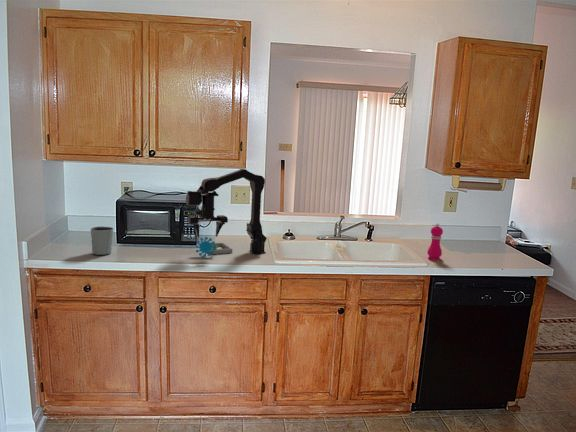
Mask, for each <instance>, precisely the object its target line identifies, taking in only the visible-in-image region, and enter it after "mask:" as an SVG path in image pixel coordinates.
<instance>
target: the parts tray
mask: <svg viewBox="0 0 576 432" xmlns="http://www.w3.org/2000/svg"><path fill="white" fill-rule="evenodd" d="M211 245H212V246H216V245H217V246H218V248H217V250H213V251H214V253H212V252H211V250H210V255H211V256H212V255H225V254H233V248H232V247H230V246H229V245H227V244H226V243H225V242H215V244H211ZM219 247H223V248H220V249H219Z"/></svg>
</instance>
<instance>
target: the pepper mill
mask: <svg viewBox="0 0 576 432" xmlns="http://www.w3.org/2000/svg"><path fill="white" fill-rule="evenodd" d="M443 233H444V230H443V228H442V227H441V226H440V223H436V224H435V226H433V227H432V228H431V229H430V234H431V236H430V238H431V242H430V245H429V247H428V249H427V256H428V257H427V259H428V260H431V261H440V260H441V258H440V257H442V255H443V252H442V247H441V239H442V235H443Z"/></svg>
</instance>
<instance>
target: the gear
mask: <svg viewBox="0 0 576 432" xmlns="http://www.w3.org/2000/svg"><path fill="white" fill-rule="evenodd" d="M208 238H209V237H208V236H205V237H204V238H203V237H200V241H201V242H200V241H199V240H197V241H196V245H195V246H194V247H195V253H198V255H199V256H200V257H202V256H203V258H206V257H207V256H208V257H210V256H212V254H211V253H210V250H211V252H212V253H214V251H213V250H217V249H219V247H218V246H217V245H216V246H212V245H211V244H215V243H216V242H215V241H213V239H212V238H211V237H210V238H209V239H208ZM203 240H204V241H203ZM198 245H199V246H198Z"/></svg>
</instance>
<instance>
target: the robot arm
mask: <svg viewBox="0 0 576 432" xmlns="http://www.w3.org/2000/svg"><path fill="white" fill-rule="evenodd" d="M243 178H244V179H245V180H247V181H248V182H249V186H250V187H249V188H250V190H251V208H250V209H251V211H250V221H249V222H247V223H246V232H247V235H248V236H249V237H250V240H251V242H250V244H249V252H250V253H253V254H255V255H257V254H266V251H265V244H266V241H267V237H266V236H265V235H264V234H263V226H262V223H261V207H262V206H261V205H262V193H263V190H264V188H265V185H266V184H265V183H266V179H265V178H264V176H262V175H260V174H254V173H253V172H251V171H249V170H248V169H245V168H240V169H238V170H235V171H232V172H230V173H229V172H228V173H226V174H224V175H220V176H217V177H208V178H204V179H203V180H202V181H201V182H200V183H201V185H200V186H199V187H198V189H197V190H196V191H194V190H193V191H191V190H187V193H186V196H185V203H186V206H200V205H201V209H200V208H195V209H194V215H190V216H189V215H188V216H187V221H186V222H187V223H188V224H189V225H191V226H193V228H194V231H195V234H196V237H197V238H199V237H200V224H199V223H200V222H215V237H218V235H219V233H220V232H221V229H222V227H223V226H224V225H225V224H226V223H227V224H228V223H229V221H228V220H229V219H228V216H226V215H224V214H222V215H221V214H219V215H217V214H216V216H215V197H219V193H218V192H217V191H216V190H217V189H219V188H220V187H221V186H223V185H226V184H229V183H232V182H235V181H237V180H240V179H243Z"/></svg>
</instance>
